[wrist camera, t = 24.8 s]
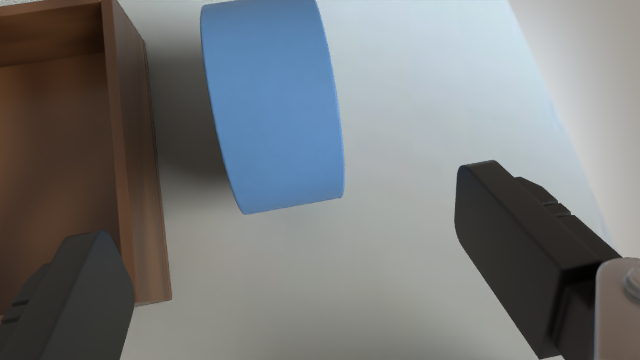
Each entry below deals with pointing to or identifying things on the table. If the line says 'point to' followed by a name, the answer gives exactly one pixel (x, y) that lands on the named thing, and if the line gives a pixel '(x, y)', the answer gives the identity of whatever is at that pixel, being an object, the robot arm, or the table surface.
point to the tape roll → (273, 102)
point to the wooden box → (77, 142)
